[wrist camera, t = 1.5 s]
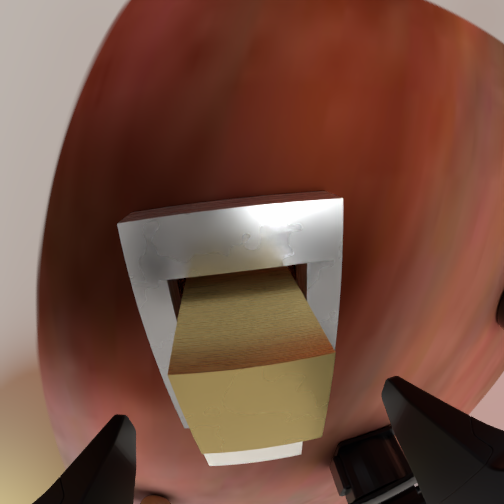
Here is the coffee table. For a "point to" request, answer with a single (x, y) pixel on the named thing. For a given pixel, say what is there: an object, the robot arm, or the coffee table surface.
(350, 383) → the coffee table surface
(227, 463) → the coaster
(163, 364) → the white flat frame
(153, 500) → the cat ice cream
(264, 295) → the brass metal cube
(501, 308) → the supplement bottle
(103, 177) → the coffee table surface
